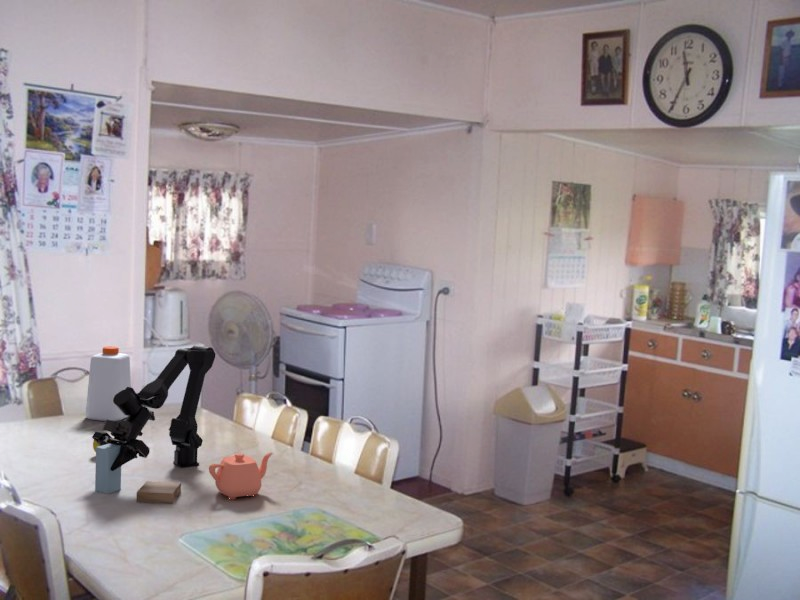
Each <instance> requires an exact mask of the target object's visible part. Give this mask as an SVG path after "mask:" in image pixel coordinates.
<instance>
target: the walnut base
mask: <svg viewBox="0 0 800 600" xmlns="http://www.w3.org/2000/svg"><path fill="white" fill-rule="evenodd" d="M181 488H182V482H173V481H171V482H170V481H152V480H151V481H150V480H147V481H145V482H144V484H143V485H142V486H141V487H140V488H139V489H138V490H137V491H136V500H135V501H136V503H137V502H139V503H142V502H144V503H142V504H159V503H164V504H165V505H172V504H173V503H174V502H175V501H176V499H177V498H178V497H179V495H180V494H181V493H182V492H181V490H182V489H181ZM164 504H163V505H164Z"/></svg>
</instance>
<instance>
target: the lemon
mask: <svg viewBox="0 0 800 600" xmlns="http://www.w3.org/2000/svg"><path fill="white" fill-rule="evenodd" d="M98 446H100V445H99V444H98V443H97V442H96V441H95V440H94V439H93V442H92V447H93V450H94V452H95V453H96V447H98Z"/></svg>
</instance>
